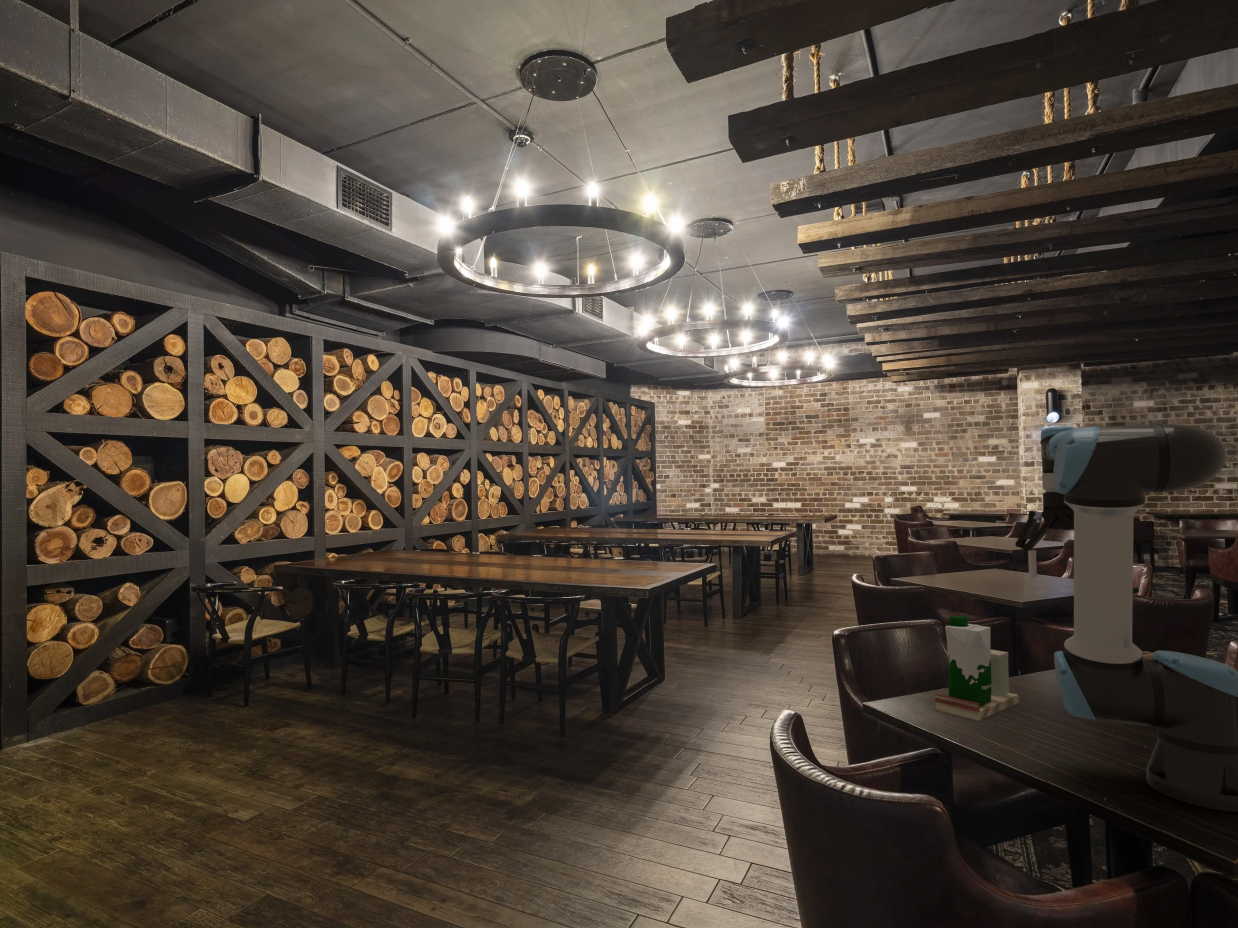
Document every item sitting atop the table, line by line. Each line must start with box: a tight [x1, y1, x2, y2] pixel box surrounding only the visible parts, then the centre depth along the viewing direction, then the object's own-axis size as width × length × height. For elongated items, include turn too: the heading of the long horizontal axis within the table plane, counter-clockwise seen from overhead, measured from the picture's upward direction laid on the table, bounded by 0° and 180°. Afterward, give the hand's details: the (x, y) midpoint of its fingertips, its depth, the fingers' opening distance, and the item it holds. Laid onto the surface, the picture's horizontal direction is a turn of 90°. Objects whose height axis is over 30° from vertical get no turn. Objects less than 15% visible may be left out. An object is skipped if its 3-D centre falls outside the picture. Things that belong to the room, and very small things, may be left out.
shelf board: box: [934, 692, 1020, 722], centre depth 163 cm, size 22×10×4 cm, turn 128°
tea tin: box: [991, 649, 1010, 697], centre depth 168 cm, size 5×6×10 cm
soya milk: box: [944, 615, 992, 707], centre depth 161 cm, size 9×9×20 cm
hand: (1064, 579), depth 158 cm, fingers open, 13 cm apart
